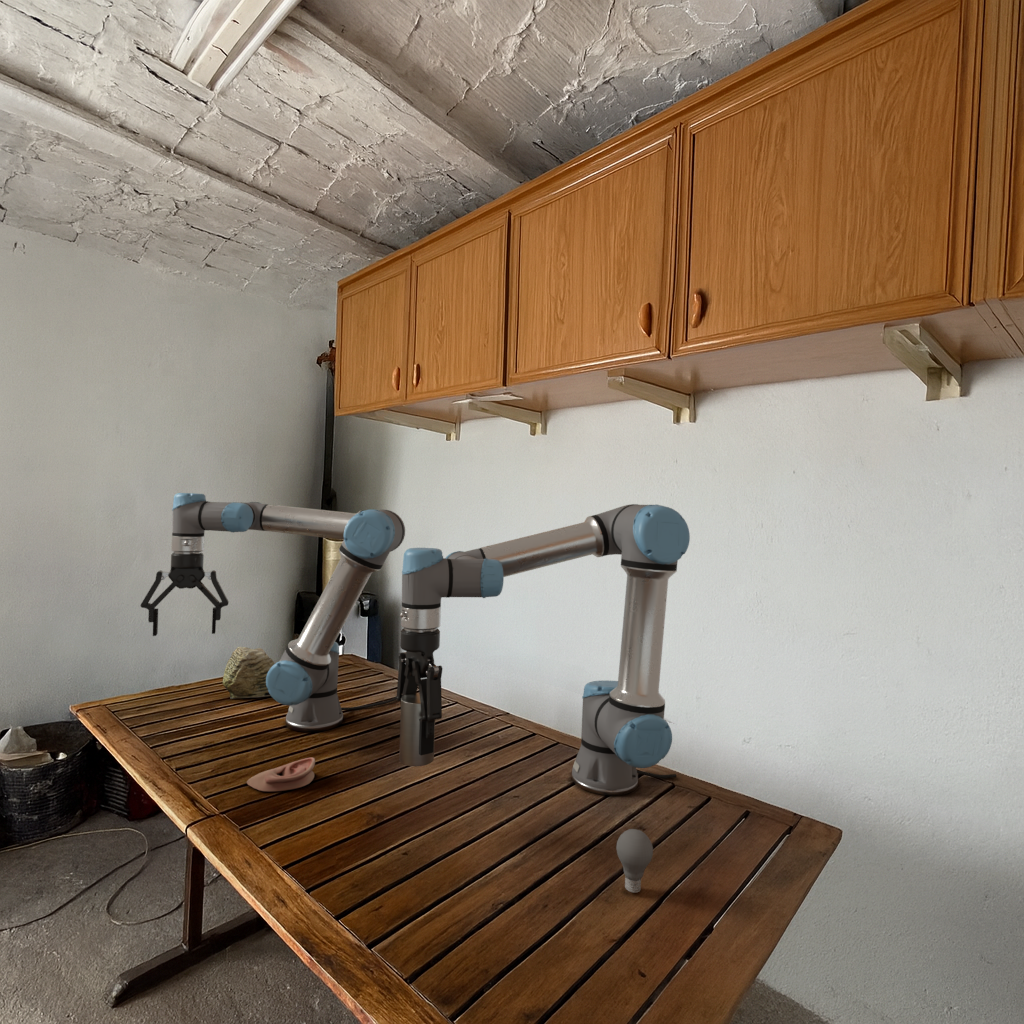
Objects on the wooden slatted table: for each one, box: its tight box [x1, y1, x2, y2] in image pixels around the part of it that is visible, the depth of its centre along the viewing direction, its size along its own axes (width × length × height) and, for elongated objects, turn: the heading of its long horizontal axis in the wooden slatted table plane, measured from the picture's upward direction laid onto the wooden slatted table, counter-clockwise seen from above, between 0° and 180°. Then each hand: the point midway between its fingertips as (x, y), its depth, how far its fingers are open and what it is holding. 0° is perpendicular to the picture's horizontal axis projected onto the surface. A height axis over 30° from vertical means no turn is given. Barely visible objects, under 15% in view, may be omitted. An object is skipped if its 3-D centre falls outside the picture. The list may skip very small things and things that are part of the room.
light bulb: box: [615, 828, 654, 894], centre depth 106 cm, size 6×6×10 cm
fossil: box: [222, 646, 276, 699], centre depth 198 cm, size 9×18×15 cm, turn 132°
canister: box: [398, 692, 436, 767], centre depth 122 cm, size 7×7×12 cm
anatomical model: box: [246, 757, 316, 792], centre depth 140 cm, size 13×4×12 cm
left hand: (184, 633), depth 165 cm, fingers open, 13 cm apart
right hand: (417, 746), depth 122 cm, fingers closed on canister, 7 cm apart
